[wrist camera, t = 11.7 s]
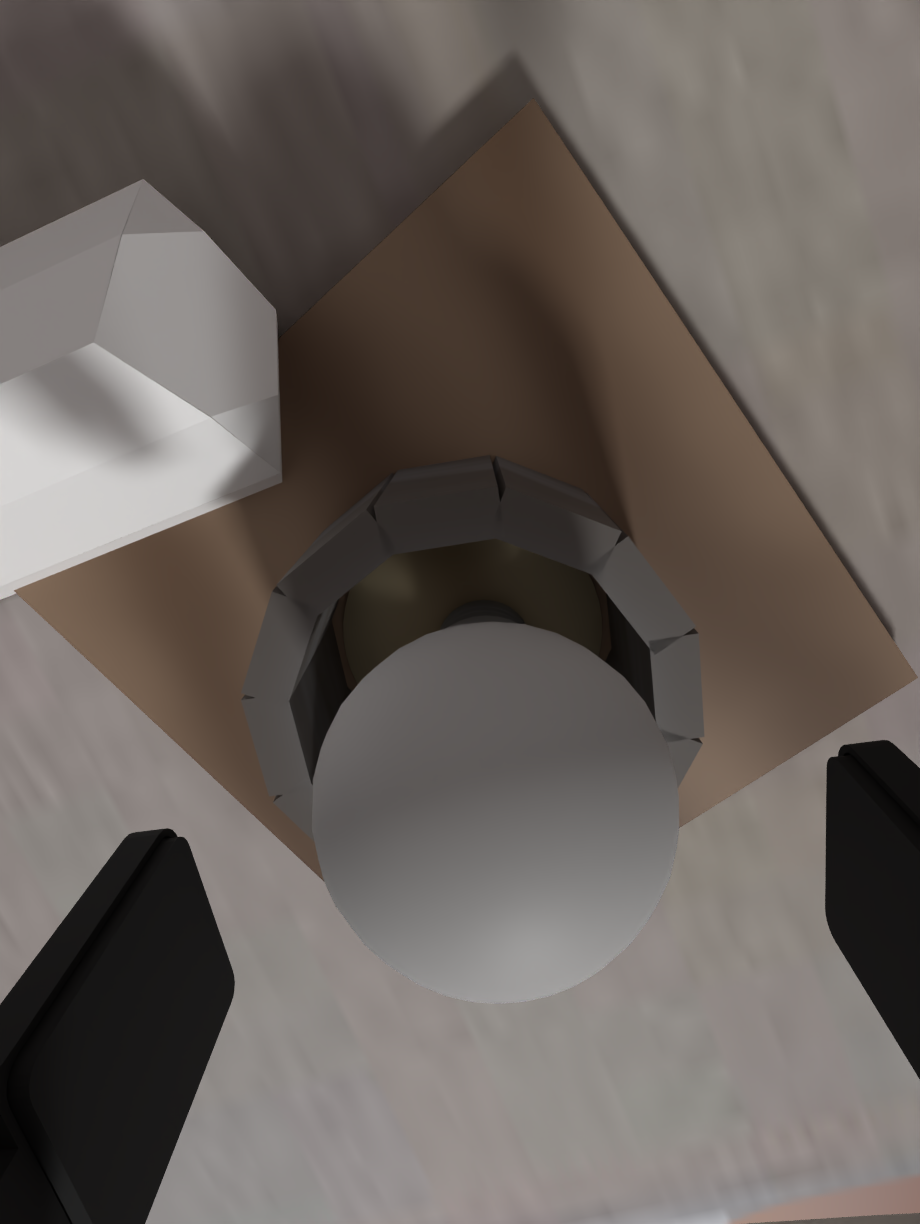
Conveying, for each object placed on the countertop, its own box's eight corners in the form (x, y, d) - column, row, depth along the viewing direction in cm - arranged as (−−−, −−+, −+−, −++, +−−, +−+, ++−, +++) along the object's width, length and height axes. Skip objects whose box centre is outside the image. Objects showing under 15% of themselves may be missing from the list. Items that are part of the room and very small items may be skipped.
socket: (529, 113, 16) (562, -20, 11) (897, 663, 21) (1057, 773, 15) (33, 579, 20) (-134, 660, 15) (434, 959, 25) (424, 1135, 19)
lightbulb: (343, 688, 20) (213, 1031, 10) (419, 490, 18) (355, 654, 8) (538, 758, 21) (610, 1148, 10) (631, 574, 19) (829, 828, 9)
